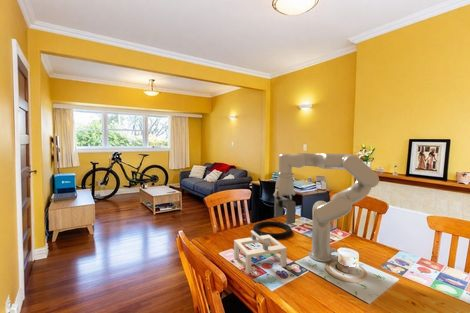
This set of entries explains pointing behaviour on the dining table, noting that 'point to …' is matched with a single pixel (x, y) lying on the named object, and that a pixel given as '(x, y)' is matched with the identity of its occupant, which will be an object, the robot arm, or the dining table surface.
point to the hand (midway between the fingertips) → (284, 206)
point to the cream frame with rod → (260, 251)
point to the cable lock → (274, 235)
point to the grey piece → (289, 210)
